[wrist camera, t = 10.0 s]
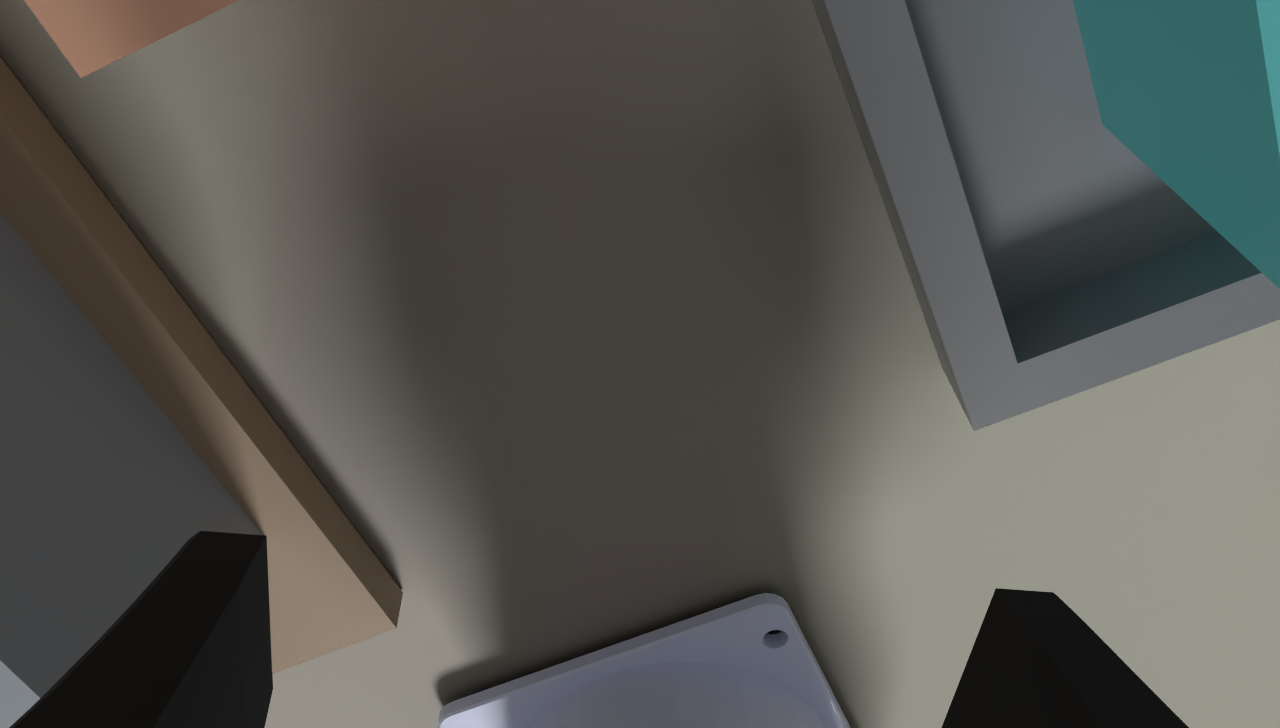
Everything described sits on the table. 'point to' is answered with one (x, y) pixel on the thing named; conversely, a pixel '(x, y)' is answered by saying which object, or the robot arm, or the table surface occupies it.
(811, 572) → the table surface
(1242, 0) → the teal block
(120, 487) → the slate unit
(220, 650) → the robot arm
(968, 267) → the charcoal tray
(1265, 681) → the table surface
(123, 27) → the terracotta block
